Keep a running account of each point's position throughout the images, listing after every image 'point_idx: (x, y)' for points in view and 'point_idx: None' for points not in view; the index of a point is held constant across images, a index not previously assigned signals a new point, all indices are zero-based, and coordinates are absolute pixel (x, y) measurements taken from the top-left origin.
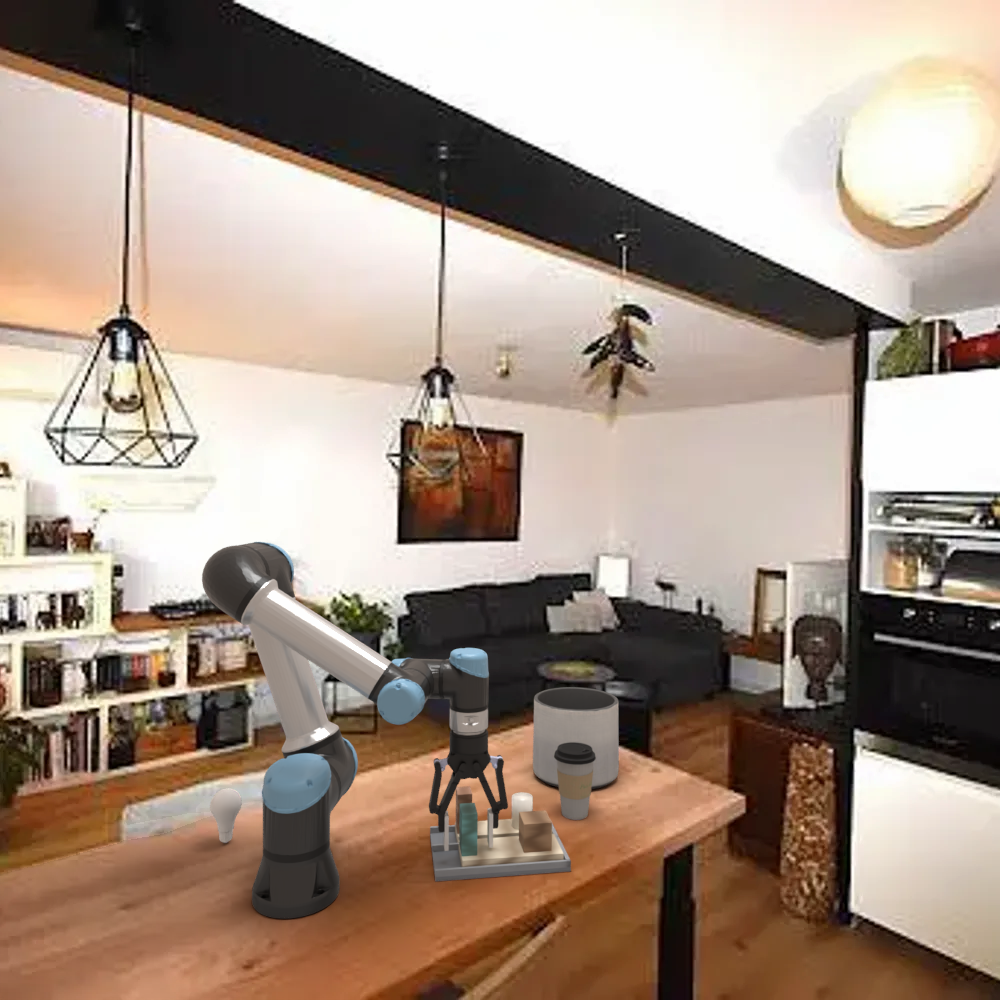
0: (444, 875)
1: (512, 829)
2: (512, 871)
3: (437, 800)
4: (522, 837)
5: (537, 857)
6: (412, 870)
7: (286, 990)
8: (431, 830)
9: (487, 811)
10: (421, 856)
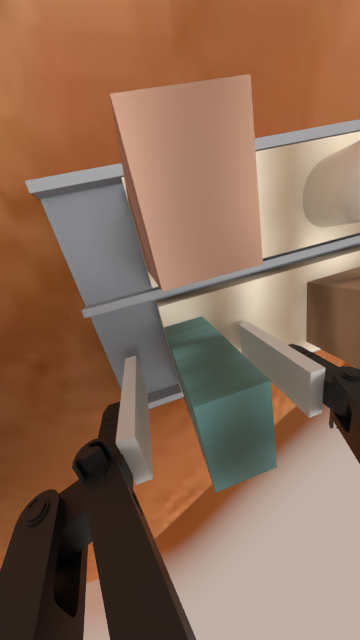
0: None
1: (301, 226)
2: None
3: (82, 635)
4: (330, 336)
5: None
6: (66, 375)
7: None
8: (39, 195)
9: (299, 366)
10: (63, 316)
